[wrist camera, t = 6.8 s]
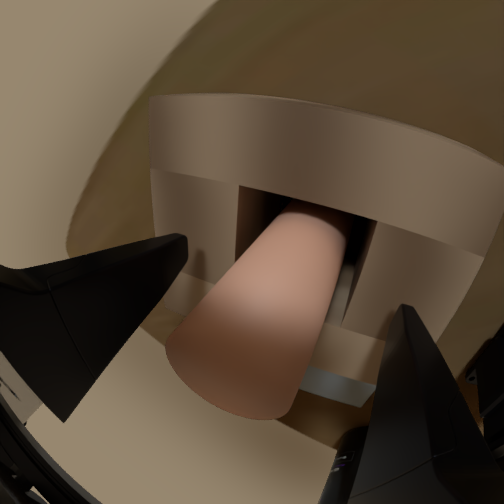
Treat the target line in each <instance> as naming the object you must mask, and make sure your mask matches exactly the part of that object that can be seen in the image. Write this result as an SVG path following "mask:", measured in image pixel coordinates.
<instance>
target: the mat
mask: <svg viewBox="0 0 504 504" xmlns="http://www.w3.org/2000/svg"><path fill="white" fill-rule="evenodd" d="M299 389H301V390H304V391H307V392H310V393H313V394H316V395H319V396H322V397H325V398H329V399H332V400H335V401H339V402H342V403H346V404H349V405H353V406H356V407H360V408H361V407H362V405H363V404H364V403H365V402H366V401H367V399H368V398H369V397H370V396H371V394H372V393H373V392H374V391H375V389H376V385H372V384H369V383H365V382H361V381H358V380H354V379H351V378H347V377H344V376H341V375H337V374H334V373H331V372H328V371H325V370H322V369H318V368H315V367H312V366H309V365H308V367H307V369H306V372H305V374H304V377H303V379H302V382H301V384H300V387H299Z"/></svg>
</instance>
